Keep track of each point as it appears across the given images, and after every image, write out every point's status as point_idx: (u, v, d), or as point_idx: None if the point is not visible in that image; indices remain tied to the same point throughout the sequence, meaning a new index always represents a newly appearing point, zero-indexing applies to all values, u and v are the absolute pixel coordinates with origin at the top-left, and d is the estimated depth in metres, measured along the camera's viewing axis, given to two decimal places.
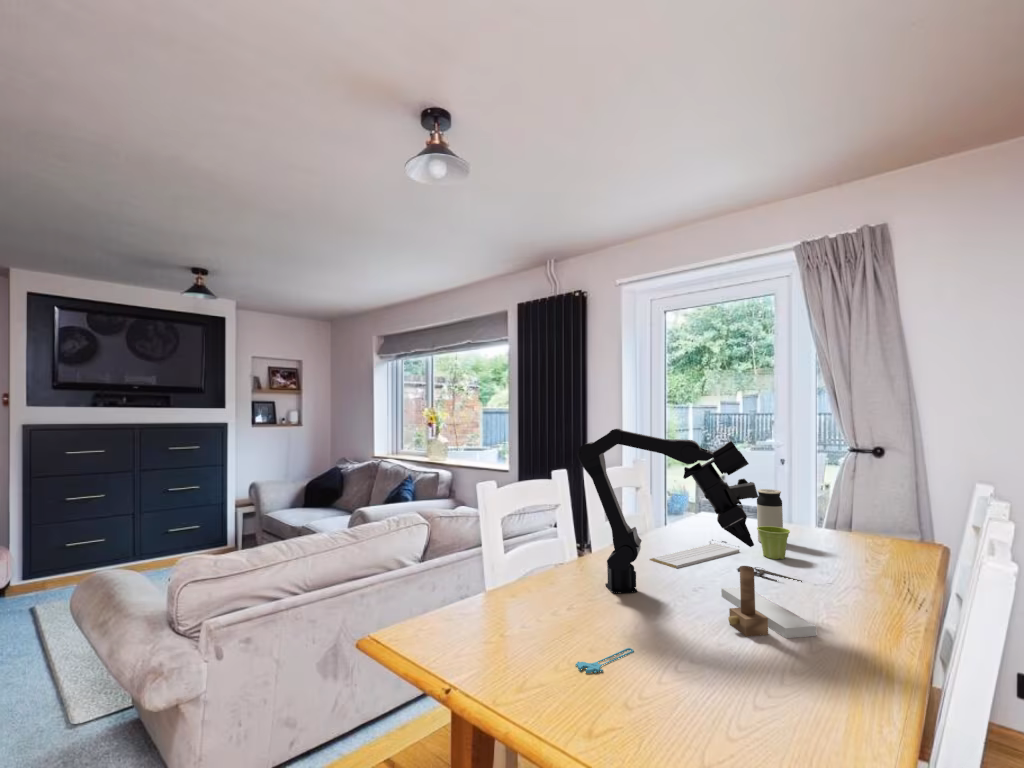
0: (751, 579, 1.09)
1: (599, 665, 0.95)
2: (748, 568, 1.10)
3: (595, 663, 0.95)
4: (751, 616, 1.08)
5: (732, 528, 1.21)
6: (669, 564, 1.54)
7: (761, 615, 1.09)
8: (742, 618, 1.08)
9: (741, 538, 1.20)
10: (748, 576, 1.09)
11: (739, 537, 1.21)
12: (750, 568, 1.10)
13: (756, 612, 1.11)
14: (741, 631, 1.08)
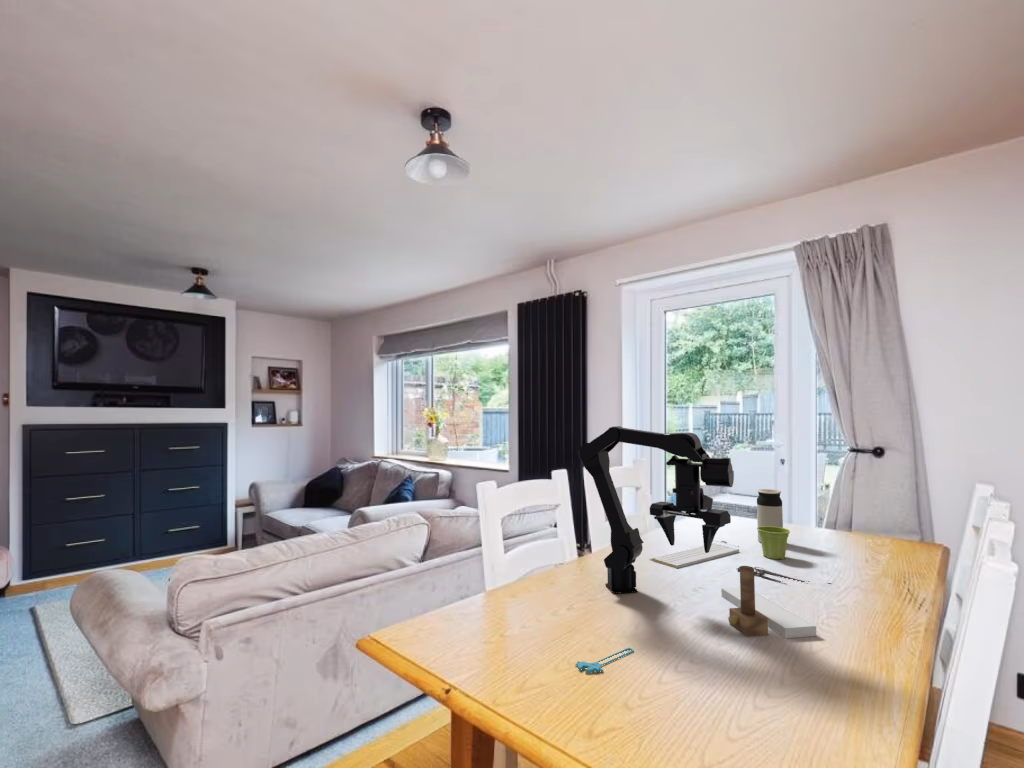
0: (751, 579, 1.09)
1: (599, 665, 0.95)
2: (748, 568, 1.10)
3: (595, 663, 0.95)
4: (751, 616, 1.08)
5: None
6: (669, 564, 1.54)
7: (761, 615, 1.09)
8: (742, 618, 1.08)
9: (708, 542, 1.21)
10: (748, 576, 1.09)
11: (708, 540, 1.21)
12: (750, 568, 1.10)
13: (756, 612, 1.11)
14: (741, 631, 1.08)
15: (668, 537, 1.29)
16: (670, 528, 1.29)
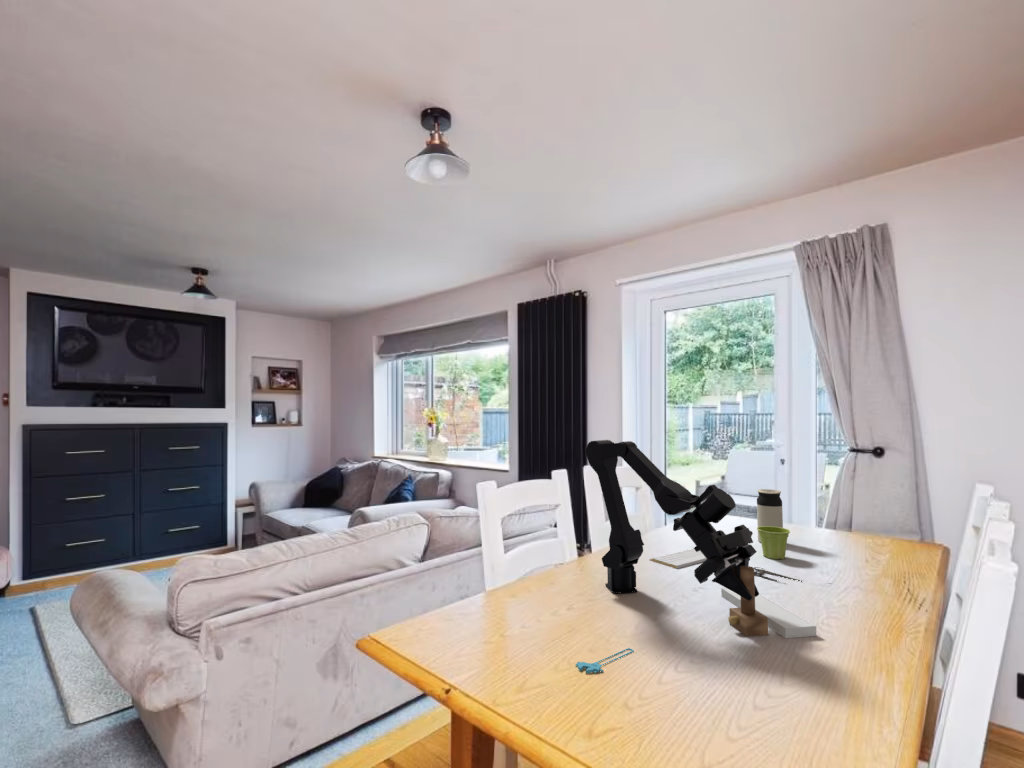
0: (751, 579, 1.09)
1: (599, 665, 0.95)
2: (748, 568, 1.10)
3: (595, 663, 0.95)
4: (751, 616, 1.08)
5: (723, 580, 1.11)
6: (669, 564, 1.54)
7: (761, 615, 1.09)
8: (742, 618, 1.08)
9: (736, 591, 1.10)
10: (748, 576, 1.09)
11: (733, 589, 1.10)
12: (750, 568, 1.10)
13: (756, 612, 1.11)
14: (741, 631, 1.08)
15: None
16: None
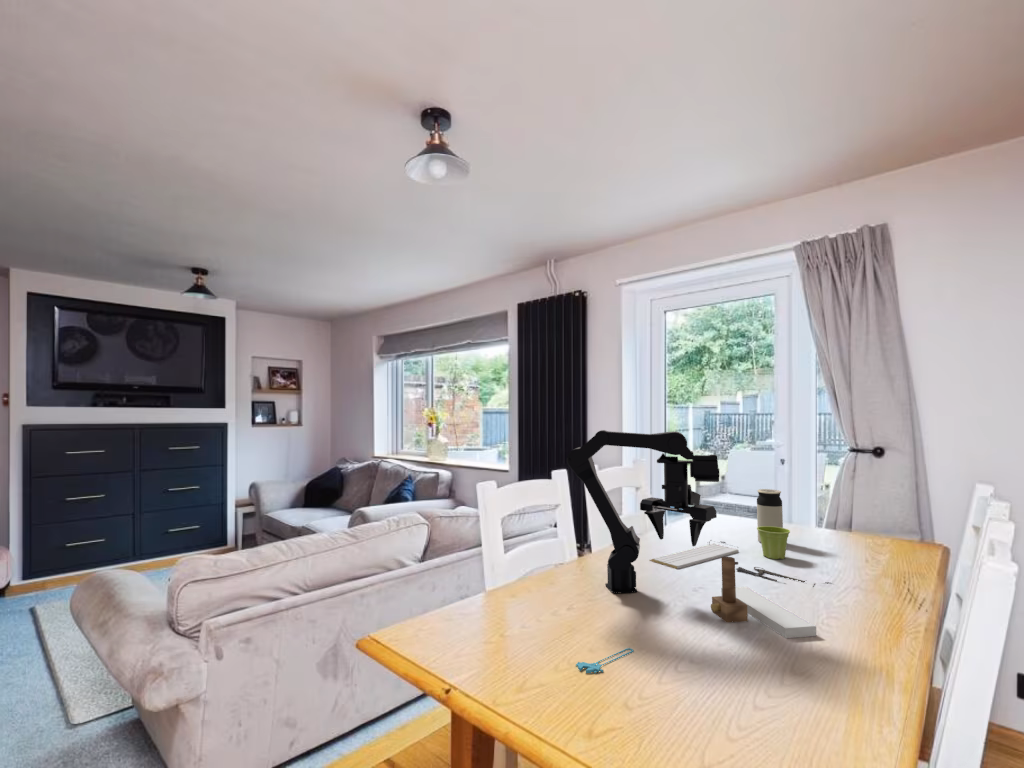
0: (732, 569, 1.16)
1: (599, 665, 0.95)
2: (729, 559, 1.17)
3: (595, 663, 0.95)
4: (732, 603, 1.15)
5: None
6: (669, 565, 1.54)
7: (741, 603, 1.16)
8: (723, 605, 1.15)
9: (695, 536, 1.27)
10: (729, 566, 1.16)
11: (695, 534, 1.27)
12: (731, 559, 1.17)
13: (737, 600, 1.18)
14: (722, 618, 1.15)
15: (657, 531, 1.34)
16: (660, 523, 1.35)
